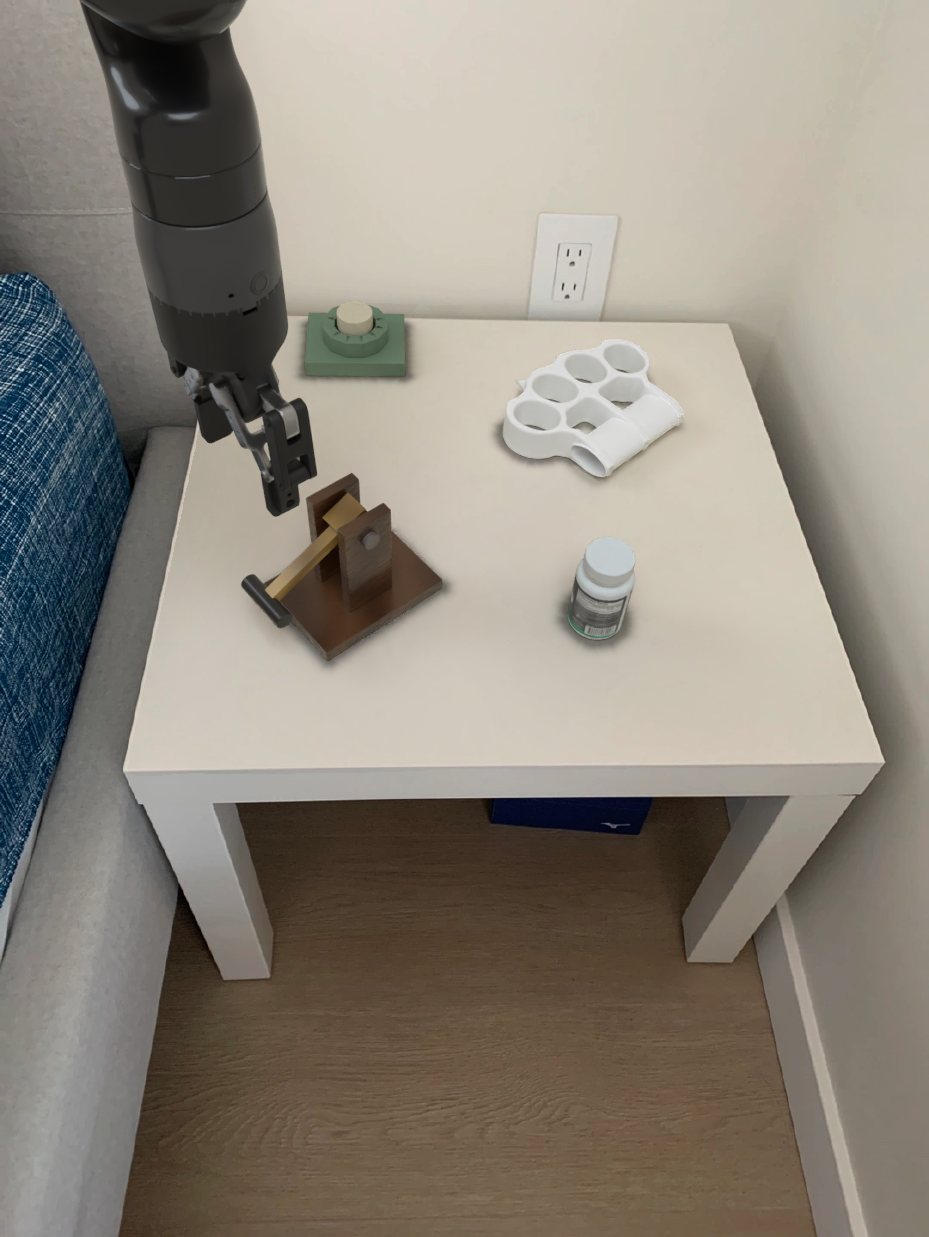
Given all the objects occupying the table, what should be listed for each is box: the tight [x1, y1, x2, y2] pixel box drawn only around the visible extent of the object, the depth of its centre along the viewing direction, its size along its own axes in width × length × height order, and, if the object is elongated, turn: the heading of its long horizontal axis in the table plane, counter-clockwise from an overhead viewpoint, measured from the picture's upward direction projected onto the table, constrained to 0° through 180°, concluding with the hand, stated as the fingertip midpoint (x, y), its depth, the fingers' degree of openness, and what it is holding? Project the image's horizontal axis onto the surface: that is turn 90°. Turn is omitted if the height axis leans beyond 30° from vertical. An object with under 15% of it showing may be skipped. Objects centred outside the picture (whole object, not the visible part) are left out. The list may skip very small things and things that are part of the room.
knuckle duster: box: [502, 338, 685, 478], centre depth 96 cm, size 3×18×15 cm
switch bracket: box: [263, 472, 443, 661], centre depth 79 cm, size 12×9×11 cm
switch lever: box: [240, 493, 369, 629], centre depth 76 cm, size 11×5×2 cm, turn 131°
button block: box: [304, 304, 406, 377], centre depth 100 cm, size 10×8×4 cm
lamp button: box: [336, 300, 373, 336], centre depth 98 cm, size 4×4×2 cm
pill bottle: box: [567, 536, 637, 641], centre depth 79 cm, size 5×5×8 cm
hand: (250, 471), depth 68 cm, fingers open, 8 cm apart
